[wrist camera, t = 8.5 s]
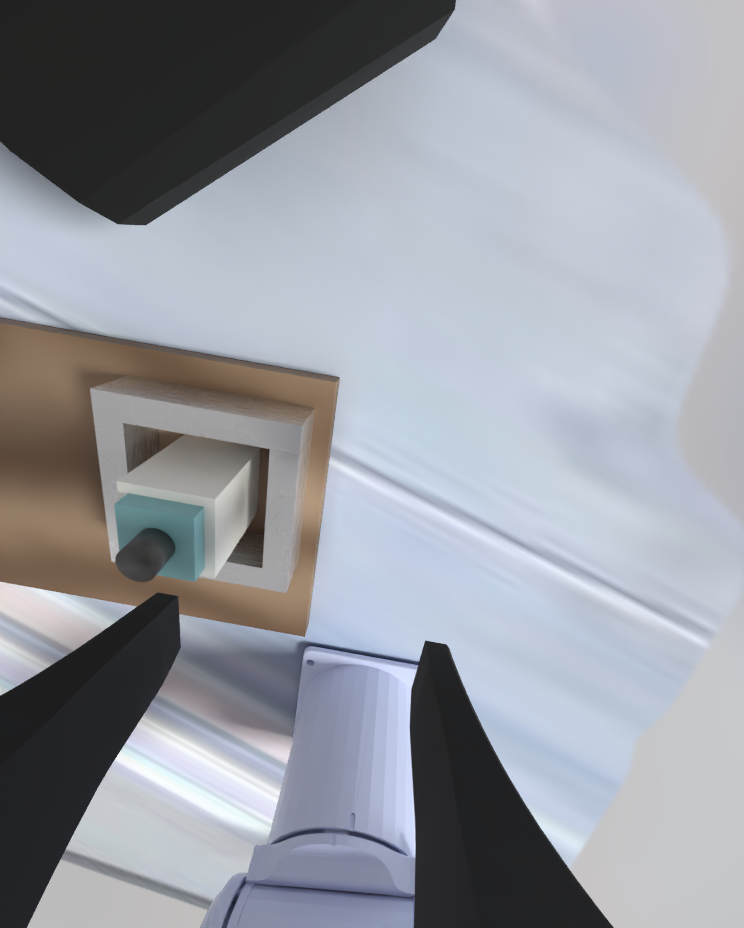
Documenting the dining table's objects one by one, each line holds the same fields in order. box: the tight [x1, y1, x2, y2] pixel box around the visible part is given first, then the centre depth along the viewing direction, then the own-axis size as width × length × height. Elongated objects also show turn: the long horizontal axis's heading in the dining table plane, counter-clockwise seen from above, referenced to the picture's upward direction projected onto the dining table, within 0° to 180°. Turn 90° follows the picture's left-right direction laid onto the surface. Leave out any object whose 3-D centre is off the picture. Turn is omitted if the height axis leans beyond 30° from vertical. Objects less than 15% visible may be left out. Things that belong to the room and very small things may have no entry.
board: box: [0, 318, 340, 637], centre depth 21 cm, size 15×20×1 cm
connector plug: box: [114, 434, 260, 582], centre depth 17 cm, size 4×4×7 cm
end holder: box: [90, 375, 315, 593], centre depth 19 cm, size 8×8×2 cm
